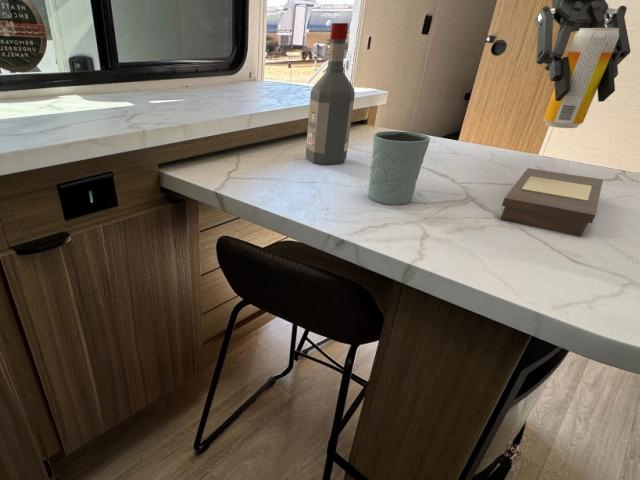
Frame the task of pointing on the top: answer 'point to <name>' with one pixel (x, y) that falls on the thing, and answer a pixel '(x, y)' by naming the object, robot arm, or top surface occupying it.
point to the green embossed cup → (396, 166)
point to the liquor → (331, 106)
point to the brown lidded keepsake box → (553, 201)
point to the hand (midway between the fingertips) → (584, 95)
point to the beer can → (582, 75)
